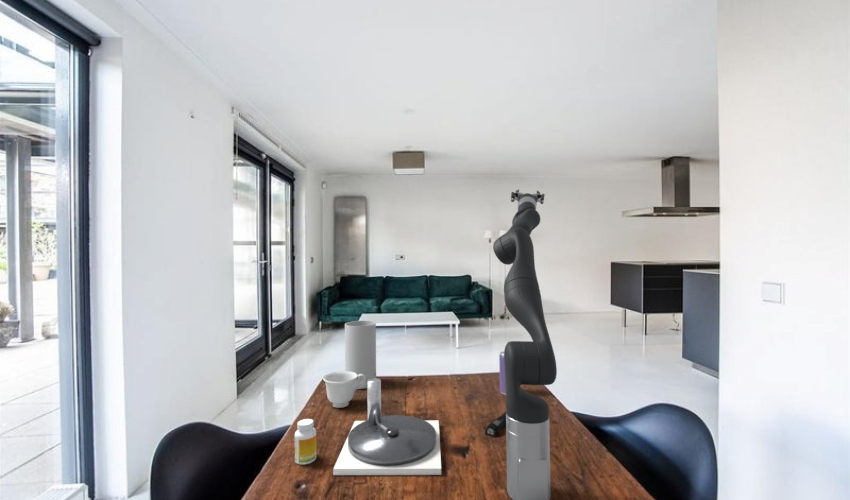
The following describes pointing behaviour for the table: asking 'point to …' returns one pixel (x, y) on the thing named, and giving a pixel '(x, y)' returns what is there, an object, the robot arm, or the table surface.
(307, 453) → the supplement bottle
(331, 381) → the teacup
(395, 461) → the dial
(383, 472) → the dial base plate
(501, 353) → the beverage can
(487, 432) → the electric trimmer
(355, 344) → the cylinder vase
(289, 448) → the table surface
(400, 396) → the table surface
